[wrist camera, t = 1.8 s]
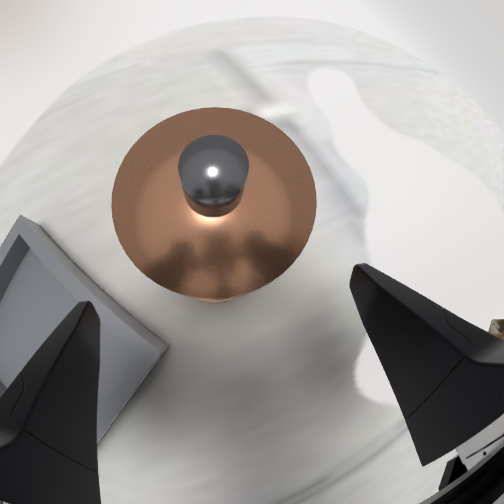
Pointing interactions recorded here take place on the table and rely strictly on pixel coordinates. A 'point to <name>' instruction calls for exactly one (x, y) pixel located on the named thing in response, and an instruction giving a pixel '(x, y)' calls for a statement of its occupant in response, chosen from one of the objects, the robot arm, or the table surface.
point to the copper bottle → (214, 203)
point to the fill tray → (56, 309)
